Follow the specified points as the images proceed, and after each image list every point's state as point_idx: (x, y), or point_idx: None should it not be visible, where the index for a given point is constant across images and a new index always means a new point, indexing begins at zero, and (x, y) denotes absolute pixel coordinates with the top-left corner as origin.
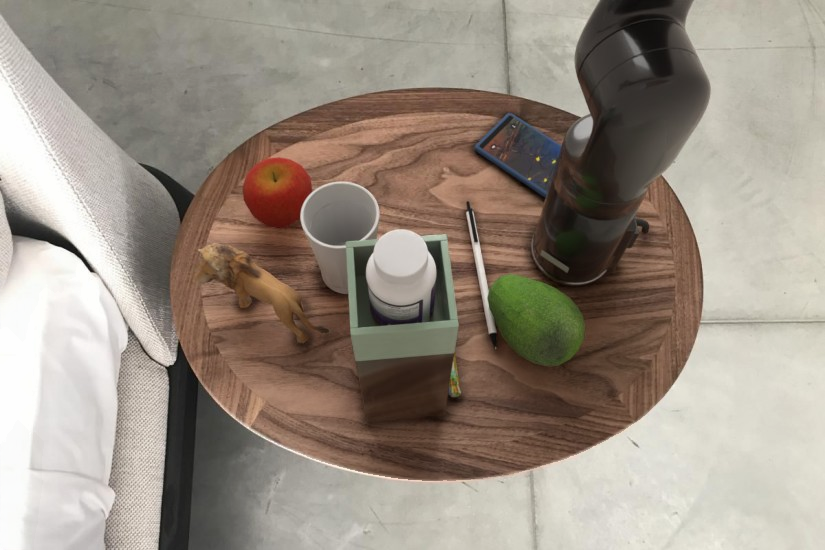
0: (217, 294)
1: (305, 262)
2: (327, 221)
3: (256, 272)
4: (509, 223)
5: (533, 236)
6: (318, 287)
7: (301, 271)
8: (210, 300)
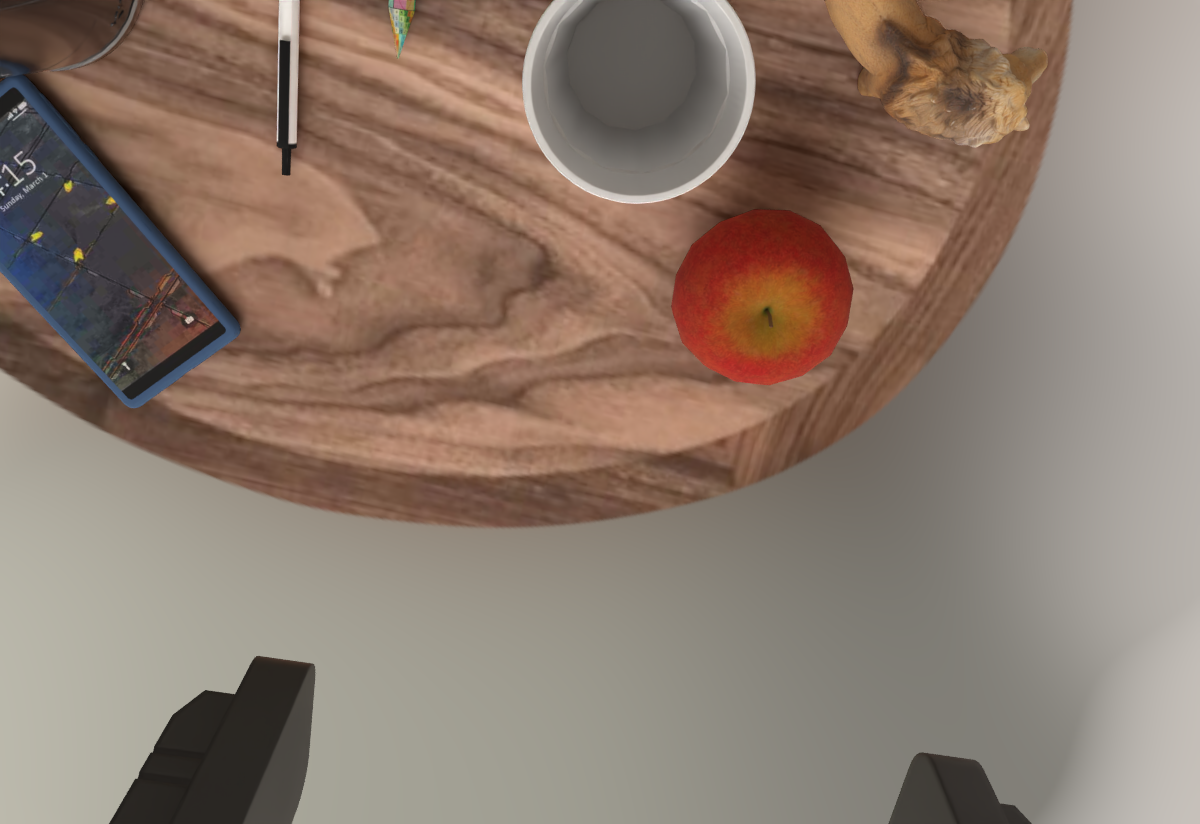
0: None
1: None
2: (664, 148)
3: (888, 35)
4: (189, 88)
5: (128, 19)
6: None
7: None
8: None
